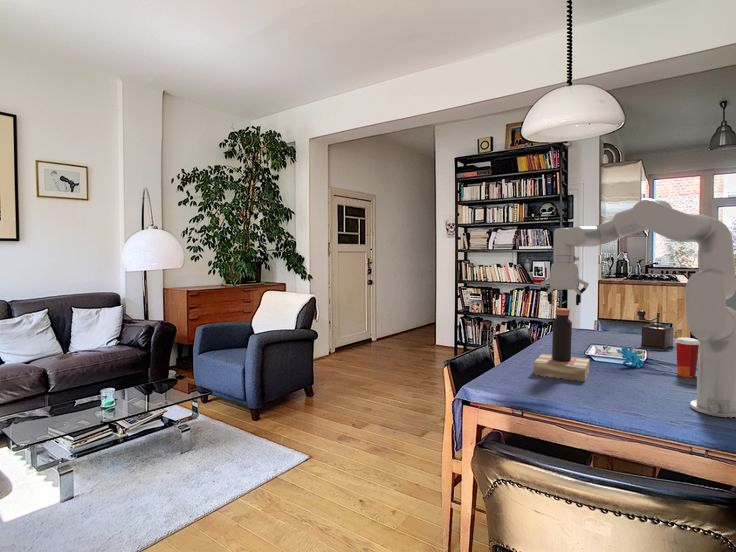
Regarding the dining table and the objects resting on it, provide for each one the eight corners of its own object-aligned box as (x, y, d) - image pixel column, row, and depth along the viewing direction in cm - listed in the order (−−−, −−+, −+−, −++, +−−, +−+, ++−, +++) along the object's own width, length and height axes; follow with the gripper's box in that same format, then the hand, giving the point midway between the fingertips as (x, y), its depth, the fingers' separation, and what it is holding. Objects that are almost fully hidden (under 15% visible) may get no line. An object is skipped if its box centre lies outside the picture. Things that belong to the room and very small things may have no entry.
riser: (584, 381, 165) (585, 367, 164) (533, 374, 174) (533, 361, 174) (589, 371, 178) (589, 358, 178) (541, 365, 188) (542, 352, 187)
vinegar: (566, 357, 179) (568, 307, 177) (573, 362, 172) (575, 310, 171) (549, 357, 179) (550, 307, 178) (555, 361, 173) (556, 310, 171)
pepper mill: (649, 342, 230) (650, 307, 229) (673, 346, 221) (674, 309, 220) (633, 346, 222) (634, 310, 221) (658, 350, 213) (659, 312, 211)
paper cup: (693, 373, 174) (694, 337, 173) (702, 378, 167) (703, 341, 166) (670, 372, 176) (671, 336, 175) (678, 377, 169) (679, 340, 168)
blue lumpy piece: (631, 365, 179) (618, 344, 186) (620, 373, 183) (608, 352, 190) (651, 367, 183) (638, 346, 190) (640, 374, 187) (628, 354, 194)
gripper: (590, 259, 172) (589, 304, 173) (542, 260, 181) (542, 302, 182) (587, 260, 165) (587, 306, 166) (538, 260, 175) (538, 304, 175)
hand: (563, 304), depth 174 cm, fingers open, 9 cm apart
